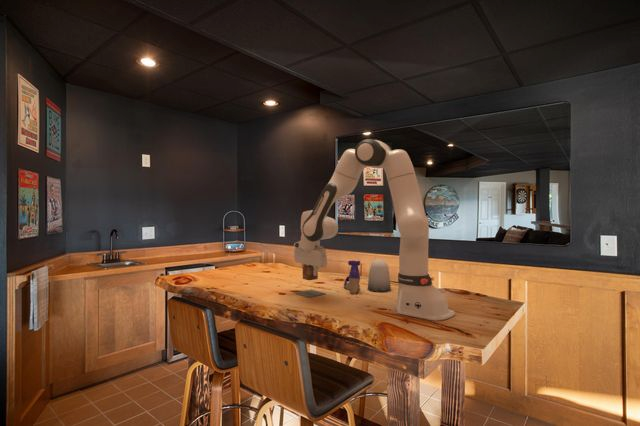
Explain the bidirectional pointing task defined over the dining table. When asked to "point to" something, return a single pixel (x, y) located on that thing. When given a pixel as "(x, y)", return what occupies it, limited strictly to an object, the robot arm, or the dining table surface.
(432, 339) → the dining table surface
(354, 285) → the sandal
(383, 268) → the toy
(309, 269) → the walnut block
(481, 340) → the dining table surface
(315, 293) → the pad
